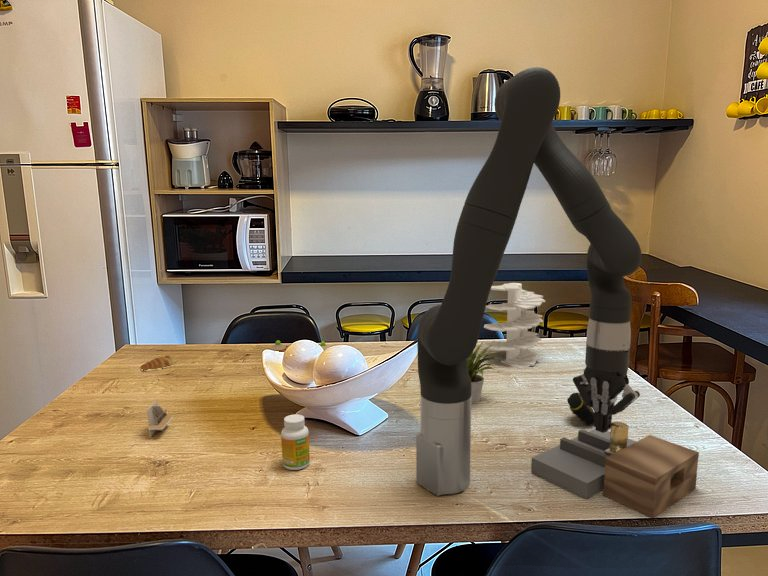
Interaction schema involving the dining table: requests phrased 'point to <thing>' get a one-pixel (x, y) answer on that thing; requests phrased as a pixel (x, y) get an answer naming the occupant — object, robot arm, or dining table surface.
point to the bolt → (618, 438)
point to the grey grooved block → (576, 462)
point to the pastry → (158, 363)
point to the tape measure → (581, 408)
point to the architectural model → (157, 418)
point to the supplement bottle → (295, 443)
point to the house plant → (473, 370)
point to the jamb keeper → (650, 475)
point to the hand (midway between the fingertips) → (602, 430)
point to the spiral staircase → (517, 325)
